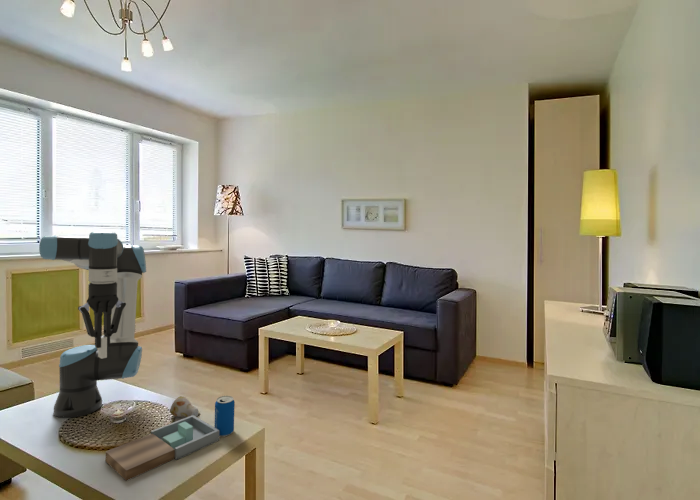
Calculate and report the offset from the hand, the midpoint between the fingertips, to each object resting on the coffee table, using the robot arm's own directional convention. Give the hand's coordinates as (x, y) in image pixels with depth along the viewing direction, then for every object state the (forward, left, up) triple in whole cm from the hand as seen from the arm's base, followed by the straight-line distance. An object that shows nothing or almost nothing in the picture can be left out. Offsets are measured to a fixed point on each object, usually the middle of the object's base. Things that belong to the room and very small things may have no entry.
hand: (102, 357), depth 124 cm
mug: (0, +29, -30) cm, 41 cm away
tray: (+15, +20, -29) cm, 38 cm away
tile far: (+15, +18, -26) cm, 35 cm away
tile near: (+15, +16, -29) cm, 36 cm away
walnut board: (+15, +5, -29) cm, 33 cm away
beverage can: (+20, +31, -30) cm, 47 cm away
